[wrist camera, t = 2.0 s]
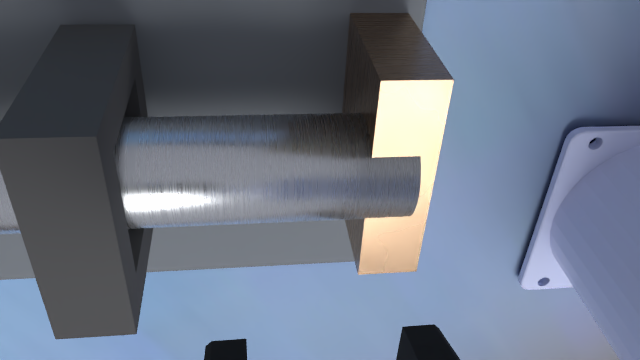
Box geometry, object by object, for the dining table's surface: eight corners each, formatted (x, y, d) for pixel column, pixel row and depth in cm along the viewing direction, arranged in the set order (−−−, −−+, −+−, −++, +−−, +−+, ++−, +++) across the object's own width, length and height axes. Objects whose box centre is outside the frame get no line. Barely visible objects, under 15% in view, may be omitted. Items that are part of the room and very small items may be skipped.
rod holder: (408, 13, 18) (460, 89, 14) (385, 184, 22) (420, 283, 18) (-298, 11, 15) (-484, 104, 11) (-187, 204, 19) (-298, 325, 15)
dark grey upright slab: (134, 24, 17) (96, 136, 12) (158, 194, 20) (136, 333, 15) (60, 24, 16) (-10, 138, 12) (97, 196, 20) (55, 339, 15)
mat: (442, -129, 16) (446, -127, 16) (385, 254, 24) (386, 259, 24) (-408, -157, 13) (-419, -155, 13) (-150, 281, 22) (-155, 287, 21)
